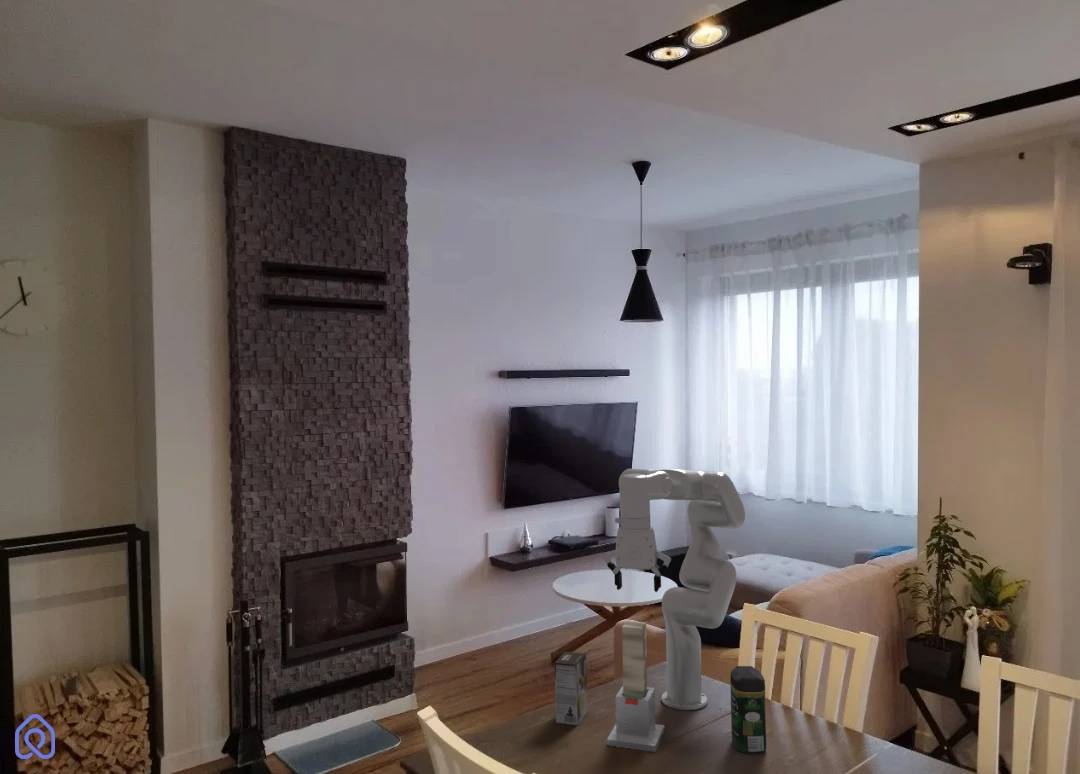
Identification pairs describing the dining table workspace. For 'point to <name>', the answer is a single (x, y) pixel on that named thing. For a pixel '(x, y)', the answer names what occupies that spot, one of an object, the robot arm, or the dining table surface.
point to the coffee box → (571, 688)
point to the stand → (636, 723)
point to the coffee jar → (748, 710)
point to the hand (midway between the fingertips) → (638, 589)
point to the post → (634, 659)
